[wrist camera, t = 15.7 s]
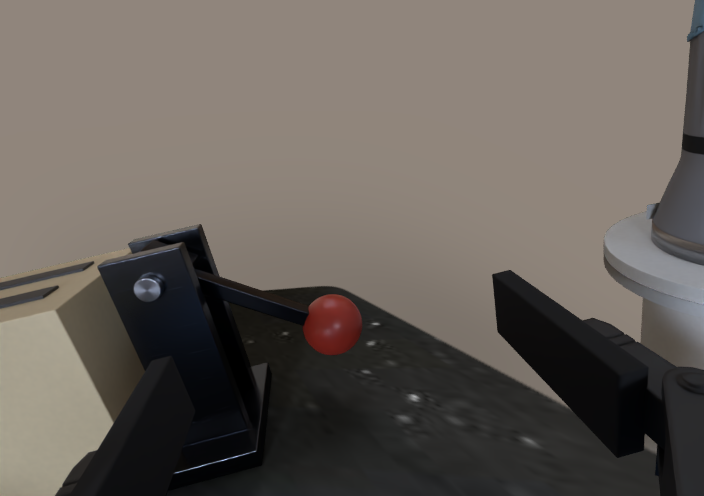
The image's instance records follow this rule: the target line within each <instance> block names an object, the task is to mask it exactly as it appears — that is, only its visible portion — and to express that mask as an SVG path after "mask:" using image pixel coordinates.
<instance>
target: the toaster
mask: <svg viewBox="0 0 704 496" xmlns="http://www.w3.org/2000/svg"><path fill="white" fill-rule="evenodd" d="M130 254H132V252H131V250H130V248H128V249H123V250H119V251H114V252H110V253H106V254H102V255H97V256H93V257H88V258H84V259H80V260H76V261H71V262H67V263H63V264H58V265H55V266H50V267H45V268H41V269H37V270H32V271H28V272H24V273H19V274H15V275H11V276H6V277H3V278H0V496H55V495H56V493H57V492H58V490H59V488H61V487H62V484H63V482H64V481H65V479H66V478H67V476H68V475H69V473H70V472H71V470H72V468H73V467H74V466H75V465H76V464H77V463H78V462H79V461H80V460H81V459H82V458H83V457H84V456H85V455H86V454H87V453H88V452H92V451H95V450H98V448H99V446H100V445H101V443H102V441H103V440H104V438H105V436H106V435H107V433H108V432H109V430H110V428H111V427H112V425H113V423H114V422H115V420H116V418H117V417H118V415H119V414H120V412H121V410H122V409H123V407H124V405H125V404H126V402H127V400H128V399H129V397H130V395H131V394H132V392H133V391H134V389H135V387H136V386H137V384H138V382H139V381H140V379H141V377H142V376H143V374H144V373H145V370H144V368H143V366H142V364H141V362H140V359H139V357H138V355H137V353H136V351H135V348H134V346H133V344H132V342H131V340H130V338H129V335H128V333H127V331H126V329H125V327H124V325H123V322H122V320H121V318H120V316H119V314H118V312H117V309H116V307H115V305H114V303H113V301H112V298H111V296H110V294H109V292H108V290H107V288H106V285H105V283H104V281H103V279H102V277H101V275H100V272H99V270H98V268H97V266H98V265H100V264H101V263H102V262H104V261H105V260H108V259H113V258H117V257H121V256H125V255H130Z"/></svg>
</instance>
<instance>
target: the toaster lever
mask: <svg viewBox="0 0 704 496" xmlns="http://www.w3.org/2000/svg"><path fill="white" fill-rule="evenodd" d="M164 246H168V244H165V243H162V242H159V241H156V240H153V241H151V242H150V243H149V244H148V245H146V246H145V247H144V248H143V249H141V250H140V252H143V251H147V250H151V249H156V248H160V247H164ZM188 254H189V257H190V259H191V262H192V265H193V267H195V264H196V261H197V259H198V255H197V254H194V253H191V252H188ZM194 270H195V273H196V276H197V278H198V281H199V284H200V286H201V289H202V292H203V294H205V295H208V296H211V297H214V298H217V299H221V300H224V301H227V302H230V303H233V304H236V305H240V306H243V307H246V308H249V309H252V310H255V311H258V312H262V313H265V314H268V315H271V316H274V317H277V318H281V319H284V320H287V321H290V322H293V323H296V324H300V325H303V332H304V336H305V338H306V340H307V342H308V343H309V344H310V346H311V347H312V348H314V349H315V350H316V351H318V352H320V353H323V354H326V355H338V354H342V353H344V352H346V351H348V350H349V349H351V348H352V347H353V346H354V345H355V343H356V342H357V341H358V339H359V337H360V334H361V331H362V319H361V315H360V312H359V310H358V308H357V307H356V305H355V304H354V303H353V302H352V301H350V300H349V299H348V298H346V297H343V296H341V295H335V294H331V295H325V296H322V297H320V298H318V299H316V300H315V301H313V302H312V303H311V304H310V306H307V305H304V304H301V303H298V302H295V301H292V300H289V299H286V298H283V297H280V296H277V295H273V294H270V293H267V292H264V291H261V290H258V289H255V288H252V287H249V286H246V285H243V284H240V283H237V282H234V281H231V280H228V279H225V278H222V277H219V276H216V275H213V274H210V273H207V272H204V271H201V270H198V269H195V268H194Z"/></svg>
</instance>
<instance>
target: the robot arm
mask: <svg viewBox="0 0 704 496" xmlns="http://www.w3.org/2000/svg"><path fill="white" fill-rule="evenodd" d="M689 41H690V54H689V68H688V80H687V94H686V105H685V116H684V127H683V140H682V152H681V158H680V161H679V163H678V165H677V168H676V170H675V172H674V174H673V176H672V178H671V180H670V182H669V184H668V186H667V188H666V191H665V193H664V195H663V197H662V199H661V201H660V203H656V204H651V205H647V216H646V220H647V219H652V227H651V239H652V241H653V243H654V244H655V245H656V246H657V247H658V248H660V249H661V250H663V251H664V252H666V253H668V254H670V255H673V256H675V257H677V258H680V259H683V260H686V261H689V262H692V263H696V264H699V265H703V266H704V0H695V5H694V12H693V18H692V26H691V32H690V34H688V36H687V42H689ZM492 277H493V287H494V298H495V308H496V319H497V330H498V333H499V334H500V335H501V336H502V337H503V338H504V339H505V340H506V341H507V342H508V343H509V344H510V345H511V346H512V347H513V348H514V350H516V352H517V353H518V354H519V355H520V356H521V357H522V358H523V359H524V360H525V361H526V362H527V363H528V364H529V365H530V366H531V367H532V369H533V370H534V371H535V372H536V373H537V374H538V375H539V376H540V377H541V378H542V379H543V380H544V381H545V382H546V383H547V384H548V385H549V386H550V387H551V388H552V390H553V391H554V392H555V393H556V394H557V395H558V396H559V397H560V398H561V399H562V400H563V401H564V402H565V403H566V404H567V405H568V406H569V408H570V409H571V410H572V411H573V412H574V413H575V414H576V415H577V416H578V417H579V418H580V419H581V420H582V421H583V422H584V423H585V424H586V425H587V427H588V428H589V429H590V430H591V431H592V432H593V433H594V434H595V435H596V436H597V437H598V438H599V439H600V440H601V441H602V442H603V443H604V444H605V445H606V447H607V448H608V449H609V450H610V451H611V452H612V453H613V454H614V455H615V456H616V457H617V458H619V457H622V456H626V455H629V454H633V453H636V452H640V451H643V450H644V435H645V434H647V435H648V436H649V437H650V438H651V439H652V440H653V441H654V442H655V443H657V444H658V445H657V458H656V471H655V475H657V476H659V484H660V496H704V370H701V369H697V368H693V367H676V366H674V365H673V364H671V363H670V362H668V361H666V360H665V359H663V358H662V357H660V356H659V355H657V354H656V353H654V352H653V351H651V350H650V349H648V348H646V347H645V346H643V345H642V344H640V343H639V342H635V340H634V339H633V338H631V337H629V336H628V335H624V333H623V332H622V331H620V330H619V329H617V328H616V327H614V326H612V325H611V324H609V323H606V322H603V321H600V320H597V319H595V318H591V319H587V320H583V321H582V320H581V319H579V318H578V317H576V316H575V315H574V314H572V313H571V312H569V311H568V310H566V309H565V308H564V307H562V306H561V305H559V304H558V303H556V302H555V301H554V300H552V299H551V298H549V297H548V296H546V295H545V294H544V293H542V292H541V291H539V290H538V289H536V288H535V287H534V286H532V285H531V284H529V283H528V282H526V281H525V280H524V279H522V278H521V277H519V276H518V275H516V274H515V273H514V272H512V271H511V270H508V271H504V272H500V273H496V274H493V275H492ZM194 414H195V409H194V406H193V404H192V402H191V399H190V397H189V395H188V393H187V390H186V388H185V386H184V383H183V381H182V379H181V376H180V374H179V372H178V369H177V367H176V365H175V363H174V360H173V358H172V356H168V357H164V358H160V359H156V360H152V361H151V363H150V364H149V366H148V368H147V369H146V371H145V373H144V374H143V376H142V377H141V379H140V381H139V382H138V384H137V386H136V387H135V389H134V391H133V392H132V394H131V395H130V397H129V399H128V400H127V402H126V404H125V405H124V407H123V409H122V410H121V412H120V414H119V415H118V417H117V418H116V420H115V422H114V423H113V425H112V427H111V428H110V430H109V432H108V433H107V435H106V436H105V438H104V440H103V441H102V443H101V445H100V446H99V448H98V450H95V451H92V452H88V453H87V454H86V455H85V456H84V457H83V458H82V459H81V460H80V461H79V462H78V463H77V464H76V465H75V466H74V467H73V468H72V470H71V472H70V473H69V475H68V476H67V478H66V479H65V481H64V482H63V484H62V487H61V488H59V490H58V492H57V493H56V495H55V496H166V493H167V491H168V488H169V485H170V482H171V479H172V476H173V474H174V471H175V468H176V465H177V462H178V459H179V457H180V454H181V451H182V448H183V445H184V442H185V440H186V437H187V434H188V431H189V428H190V425H191V423H192V420H193V417H194Z"/></svg>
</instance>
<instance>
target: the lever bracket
mask: <svg viewBox="0 0 704 496" xmlns="http://www.w3.org/2000/svg"><path fill="white" fill-rule="evenodd" d="M153 240H156V241H159V242H162V243H165V244H168V246H164V247H160V248H156V249H151V250H147V251H143V252H140V250H141V249H143V248H144V247H145V246H146V245H148V244H149V243H150V242H151V241H153ZM128 245H129V247H130V250H131V252H132V254H130V255H125V256H121V257H117V258H113V259H108V260H105V261H104V262H102V263H101V264H100V265H98V266H97V268H98V270H99V272H100V275H101V277H102V279H103V281H104V283H105V285H106V288H107V290H108V292H109V294H110V296H111V298H112V301H113V303H114V305H115V307H116V309H117V312H118V314H119V316H120V318H121V320H122V322H123V325H124V327H125V329H126V331H127V333H128V335H129V338H130V340H131V342H132V344H133V346H134V348H135V351H136V353H137V355H138V357H139V359H140V362H141V364H142V366H143V368H144V370H145V371H146V369H147V368H148V366H149V364H150V363H151V361H152V360H156V359H160V358H164V357H168V356H172V358H173V360H174V363H175V365H176V367H177V369H178V372H179V374H180V376H181V379H182V381H183V383H184V386H185V388H186V390H187V393H188V395H189V397H190V399H191V402H192V404H193V406H194V409H195V414H194V417H193V420H192V423H191V425H190V428H189V431H188V434H187V437H186V440H185V442H184V445H183V448H182V451H181V454H180V457H179V459H178V462H177V465H176V468H175V471H174V474H173V476H172V479H171V482H170V485H169V488H168V490H172V489H176V488H179V487H183V486H187V485H190V484H194V483H198V482H201V481H205V480H209V479H213V478H216V477H220V476H224V475H227V474H231V473H235V472H238V471H242V470H246V469H249V468H253V467H257V466H261V465H262V462H263V452H264V442H265V433H266V423H267V414H268V404H269V394H270V385H271V375H272V373H271V370H270V367H269V364H268V363H264V364H260V365H256V366H252V367H251V366H250V363H249V360H248V357H247V354H246V351H245V348H244V345H243V343H242V340H241V337H240V334H239V331H238V328H237V325H236V323H235V320H234V317H233V314H232V311H231V308H230V305H229V302H227V301H224V300H221V299H217V298H214V297H211V296H208V295H205V294H203V292H202V289H201V286H200V284H199V281H198V278H197V276H196V273H195V270H194V268H195V269H198V270H201V271H204V272H207V273H210V274H213V275H216V276H219V274H218V271H217V268H216V265H215V263H214V259H213V257H212V254H211V251H210V248H209V245H208V242H207V239H206V236H205V234H204V231H203V228H202V225H201V224H199V225H195V226H190V227H186V228H182V229H177V230H173V231H168V232H164V233H160V234H155V235H151V236H147V237H142V238H138V239H134V240H133V241H132V242H130V243H129V244H128ZM188 252H191V253H194V254H197V255H198V259H197V261H196V264H195V267H193V265H192V262H191V259H190V257H189V254H188Z"/></svg>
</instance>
